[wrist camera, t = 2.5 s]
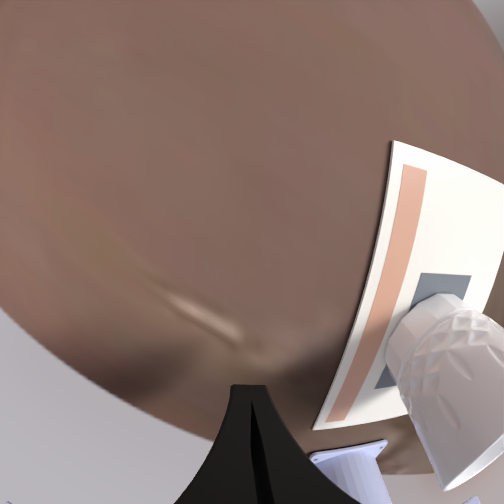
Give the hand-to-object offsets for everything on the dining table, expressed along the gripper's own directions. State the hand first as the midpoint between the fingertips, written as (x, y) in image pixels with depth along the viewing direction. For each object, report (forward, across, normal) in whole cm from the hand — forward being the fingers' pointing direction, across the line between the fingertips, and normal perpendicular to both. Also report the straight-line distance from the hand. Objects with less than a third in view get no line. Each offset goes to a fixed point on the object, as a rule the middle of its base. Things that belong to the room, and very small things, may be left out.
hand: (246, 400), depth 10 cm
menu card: (+4, -12, -1) cm, 13 cm away
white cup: (+4, -12, 0) cm, 13 cm away
